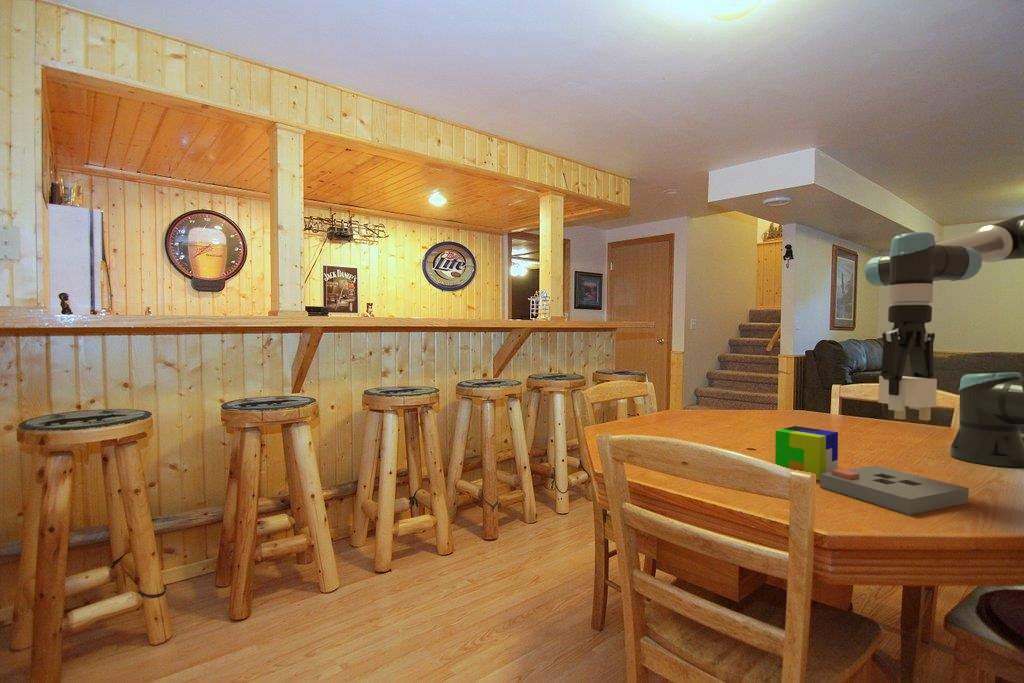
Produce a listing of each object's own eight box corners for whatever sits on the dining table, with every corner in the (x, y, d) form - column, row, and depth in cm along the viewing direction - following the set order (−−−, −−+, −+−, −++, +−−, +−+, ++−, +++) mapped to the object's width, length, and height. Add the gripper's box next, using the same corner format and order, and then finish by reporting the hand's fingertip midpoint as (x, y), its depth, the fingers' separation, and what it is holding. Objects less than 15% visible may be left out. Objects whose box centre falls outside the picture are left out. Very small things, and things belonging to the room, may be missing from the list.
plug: (895, 414, 115) (897, 375, 115) (935, 420, 108) (937, 378, 107) (877, 415, 113) (879, 375, 113) (916, 421, 106) (918, 379, 105)
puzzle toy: (837, 473, 121) (838, 432, 121) (819, 480, 116) (819, 437, 115) (794, 464, 129) (794, 425, 129) (775, 471, 124) (775, 430, 123)
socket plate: (875, 478, 117) (875, 461, 117) (968, 502, 100) (968, 483, 100) (820, 487, 110) (820, 469, 110) (909, 515, 94) (909, 493, 94)
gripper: (919, 307, 117) (916, 406, 117) (862, 303, 110) (858, 408, 111) (957, 305, 110) (953, 411, 110) (898, 302, 103) (894, 414, 103)
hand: (906, 409), depth 110 cm, fingers closed on plug, 6 cm apart
